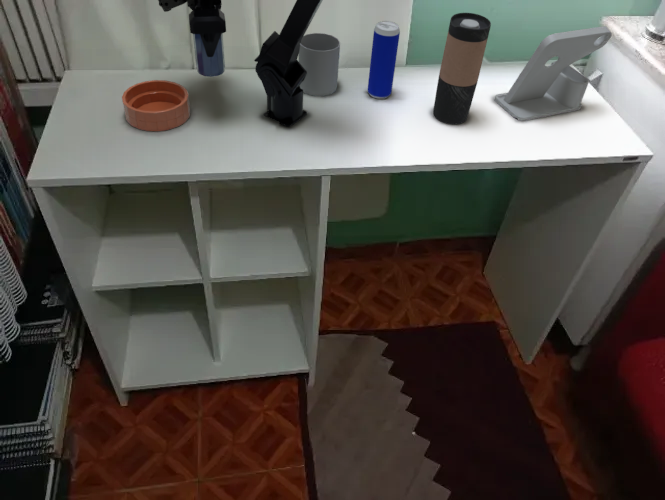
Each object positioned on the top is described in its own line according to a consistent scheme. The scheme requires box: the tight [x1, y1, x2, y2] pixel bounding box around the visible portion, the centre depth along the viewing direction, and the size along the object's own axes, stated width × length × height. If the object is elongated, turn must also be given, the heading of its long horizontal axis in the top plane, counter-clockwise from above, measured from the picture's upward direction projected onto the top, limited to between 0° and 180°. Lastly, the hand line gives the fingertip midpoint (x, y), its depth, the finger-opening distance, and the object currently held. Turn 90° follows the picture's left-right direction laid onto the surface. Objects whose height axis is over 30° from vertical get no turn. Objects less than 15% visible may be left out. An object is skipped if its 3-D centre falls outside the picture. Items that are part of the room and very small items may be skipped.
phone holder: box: [494, 25, 613, 122], centre depth 127 cm, size 17×10×18 cm, turn 113°
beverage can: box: [367, 20, 401, 100], centre depth 127 cm, size 5×5×15 cm
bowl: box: [121, 79, 191, 132], centre depth 119 cm, size 12×12×4 cm
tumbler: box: [192, 33, 226, 78], centre depth 118 cm, size 5×5×10 cm
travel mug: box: [432, 12, 492, 125], centre depth 120 cm, size 8×8×20 cm
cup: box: [298, 32, 341, 97], centre depth 129 cm, size 8×8×10 cm
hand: (209, 49), depth 118 cm, fingers closed on tumbler, 5 cm apart
